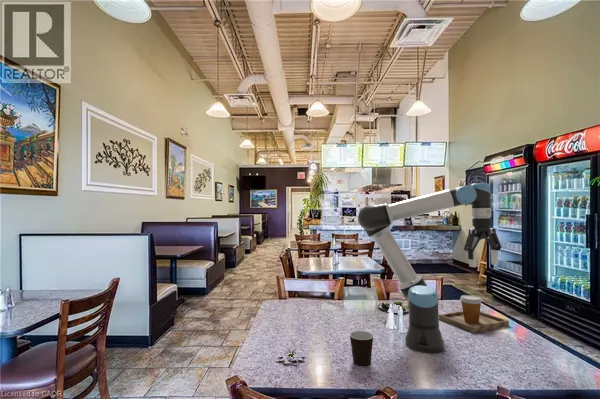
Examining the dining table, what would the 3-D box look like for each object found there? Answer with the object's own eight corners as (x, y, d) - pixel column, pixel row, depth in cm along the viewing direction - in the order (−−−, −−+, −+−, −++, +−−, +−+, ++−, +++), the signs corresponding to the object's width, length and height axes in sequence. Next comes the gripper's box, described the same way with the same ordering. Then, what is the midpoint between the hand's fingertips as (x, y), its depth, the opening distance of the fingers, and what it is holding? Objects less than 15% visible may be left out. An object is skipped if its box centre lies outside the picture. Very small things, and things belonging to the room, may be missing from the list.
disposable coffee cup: (480, 319, 157) (479, 295, 157) (484, 325, 148) (483, 300, 148) (459, 317, 160) (458, 294, 160) (462, 323, 151) (461, 299, 151)
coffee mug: (369, 370, 109) (368, 341, 109) (346, 364, 113) (346, 336, 114) (379, 357, 119) (378, 331, 119) (358, 352, 123) (357, 326, 124)
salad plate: (390, 302, 193) (390, 295, 193) (418, 309, 180) (418, 300, 180) (373, 309, 179) (373, 301, 180) (401, 316, 166) (401, 308, 167)
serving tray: (472, 333, 141) (472, 327, 142) (438, 319, 160) (438, 314, 160) (508, 325, 150) (508, 320, 150) (472, 313, 169) (472, 309, 169)
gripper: (468, 218, 130) (470, 269, 129) (509, 217, 139) (511, 265, 137) (453, 218, 137) (455, 266, 136) (493, 217, 146) (495, 262, 144)
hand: (483, 265), depth 137 cm, fingers open, 13 cm apart
